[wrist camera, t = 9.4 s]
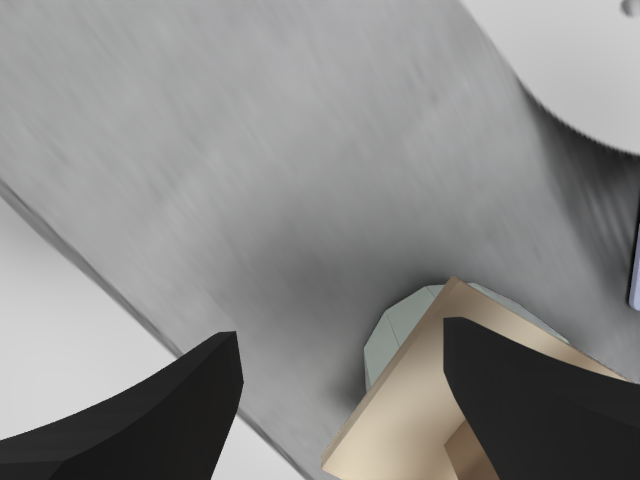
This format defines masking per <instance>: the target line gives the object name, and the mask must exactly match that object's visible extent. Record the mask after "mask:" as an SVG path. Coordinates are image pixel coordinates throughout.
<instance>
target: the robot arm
mask: <svg viewBox="0 0 640 480" xmlns="http://www.w3.org/2000/svg"><path fill="white" fill-rule="evenodd" d="M629 305H630V307H632V308H634V309H636V310H639V311H640V225H639V233H638V240H637V247H636V254H635V262H634V269H633V276H632V283H631V291H630V298H629ZM443 372H444V374H445V377H446V379H447V382H448V384H449V387H450V389H451V392H452V394H453V396H454V398H455V400H456V402H457V404H458V406H459V408H460V409H461V411H462V413H463V415H464V416H465V418H466V420H467V422H468V423H469V425H470V427H471V429H472V430H473V432H474V434H475V436H476V437H477V439H478V441H479V443H480V444H481V446H482V448H483V450H484V451H485V453H486V455H487V457H488V458H489V460H490V462H491V464H492V466H493V468H494V470H495V471H496V473H497V475H498V477H499V479H500V480H640V385H639V384H635V383H631V382H628V381H624V380H620V379H617V378H613V377H610V376H606V375H602V374H599V373H596V372H593V371H590V370H586V369H584V368H581V367H578V366H575V365H572V364H569V363H566V362H564V361H561V360H558V359H555V358H553V357H550V356H548V355H545V354H543V353H540V352H538V351H536V350H533V349H531V348H529V347H526V346H524V345H522V344H520V343H518V342H515V341H513V340H511V339H509V338H507V337H505V336H503V335H501V334H499V333H496V332H494V331H492V330H490V329H488V328H486V327H484V326H482V325H480V324H478V323H476V322H474V321H471V320H469V319H467V318H464V317H447V318H443ZM243 384H244V381H243V374H242V367H241V361H240V354H239V348H238V341H237V334H236V331H232V332H219V333H217V334H215V335H213V336H211V337H210V338H208V339H207V340H205V341H204V342H202V343H201V344H199V345H198V346H196V347H195V348H193V349H192V350H191V351H189V352H188V353H186V354H185V355H183V356H182V357H180V358H179V359H177V360H176V361H174V362H173V363H171V364H169V365H168V366H166V367H165V368H163V369H161V370H160V371H158V372H157V373H155V374H154V375H152V376H150V377H149V378H147V379H145V380H144V381H142V382H140V383H138V384H136V385H135V386H133V387H131V388H129V389H127V390H125V391H123V392H121V393H119V394H117V395H115V396H113V397H112V398H109V399H107V400H105V401H102V402H100V403H98V404H96V405H94V406H91V407H89V408H87V409H85V410H82V411H80V412H78V413H76V414H73V415H71V416H68V417H66V418H63V419H60V420H58V421H56V422H53V423H50V424H48V425H45V426H42V427H39V428H36V429H34V430H31V431H28V432H25V433H22V434H19V435H16V436H13V437H10V438H6V439H3V440H0V480H211V477H212V474H213V472H214V469H215V467H216V464H217V462H218V459H219V456H220V454H221V451H222V449H223V446H224V443H225V441H226V438H227V436H228V433H229V431H230V428H231V425H232V423H233V420H234V417H235V415H236V412H237V409H238V405H239V401H240V397H241V393H242V388H243Z"/></svg>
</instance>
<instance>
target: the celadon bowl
mask: <svg viewBox="0 0 640 480" xmlns="http://www.w3.org/2000/svg"><path fill="white" fill-rule="evenodd" d="M467 284H469V285H470V286H472V287H474V288H475V289H477V290H479V291H480V292H482V293H484V294H486V295H487V296H489V297H491V298H492V299H494V300H496V301H497V302H499V303H501V304H502V305H504V306H506V307H507V308H509V309H511V310H512V311H514V312H516V313H517V314H519V315H521V316H522V317H524V318H526V319H528V320H529V321H531V322H533V323H534V324H536V325H538V326H539V327H541V328H543V329H544V330H546V331H548V332H549V333H551V334H553V335H554V336H556V337H558V338H559V339H561V340H563V341H564V342H566V343H568V344H569V342H568V340H567V339H565V338H564V337H562V336H561V335H560V334H558V333H557V332H556V331H554V330H553V329H551V328H550V327H549V326H547V325H546V324H545V323H543V322H542V321H541V320H539V319H538V318H536V317H535V316H534V315H532V314H531V313H530V312H528V311H527V310H526V309H524V308H523V307H521V306H520V305H519V304H517V303H516V302H514V301H512V300H510V299H508V298H506V297H504V296H502V295H500V294H497V293H495V292H493V291H491V290H489V289H487V288H485V287H483V286H481V285H478V284H476V283H467ZM444 286H445V285H431V286H425V287H423V288H422V289H420V290H418V291H417V292H415V293H413V294H412V295H410V296H408V297H407V298H405V299H403V300H402V301H400V302H399V303H397V304H395V305H394V306H392V307H390V308H389V309H387V310H385V312H384V313H383V315H382V317H381V319H380V321H379V322H378V324H377V326H376V328H375V329H374V331H373V333H372V335H371V337H370V338H369V340H368V342H367V344H366V345H365V347H364V364H365V381H366V392H368V391H369V389H370V388H371V387H372V385H373V384H374V382H375V381H376V380H377V378H378V377H379V376H380V374H381V373H382V371H383V370H384V369H385V367H386V366H387V364H388V363H389V362H390V360H391V359H392V358H393V356H394V355H395V353H396V352H397V351H398V349H399V348H400V346H401V345H402V344H403V342H404V341H405V340H406V338H407V337H408V335H409V334H410V333H411V331H412V330H413V329H414V327H415V326H416V324H417V323H418V322H419V320H420V319H421V317H422V316H423V315H424V313H425V312H426V311H427V309H428V308H429V306H430V305H431V304H432V302H433V301H434V300H435V298H436V297H437V295H438V294H439V293H440V291H441V290H442V288H443V287H444Z"/></svg>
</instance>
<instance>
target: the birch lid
mask: <svg viewBox="0 0 640 480" xmlns="http://www.w3.org/2000/svg"><path fill="white" fill-rule="evenodd" d="M447 317H464V318H467V319H469V320H471V321H474V322H476V323H478V324H480V325H482V326H484V327H486V328H488V329H490V330H492V331H494V332H496V333H499V334H501V335H503V336H505V337H507V338H509V339H511V340H513V341H515V342H518V343H520V344H522V345H524V346H526V347H529V348H531V349H533V350H536V351H538V352H540V353H543V354H545V355H548V356H550V357H553V358H555V359H558V360H561V361H564V362H566V363H569V364H572V365H575V366H578V367H581V368H584V369H586V370H590V371H593V372H596V373H599V374H602V375H606V376H610V377H613V378H617V379H620V380H624V381H628V382H631V383H633V382H632V381H630V380H628V379H627V378H625V377H623V376H622V375H620V374H618V373H617V372H615V371H613V370H612V369H610V368H608V367H607V366H605V365H603V364H601V363H600V362H598V361H596V360H595V359H593V358H591V357H590V356H588V355H586V354H585V353H583V352H581V351H580V350H578V349H576V348H575V347H573V346H571V345H570V344H568V343H566V342H564V341H563V340H561V339H559V338H558V337H556V336H554V335H553V334H551V333H549V332H548V331H546V330H544V329H543V328H541V327H539V326H538V325H536V324H534V323H533V322H531V321H529V320H528V319H526V318H524V317H522V316H521V315H519V314H517V313H516V312H514V311H512V310H511V309H509V308H507V307H506V306H504V305H502V304H501V303H499V302H497V301H496V300H494V299H492V298H491V297H489V296H487V295H486V294H484V293H482V292H480V291H479V290H477V289H475V288H474V287H472V286H470V285H469V284H467V283H465V282H464V281H462V280H460V279H459V278H457V277H455V276H454V275H452V276H451V277H450V279H449V280H448V282H447V283H446V284H445V286H444V287H443V288H442V290H441V291H440V293H439V294H438V295H437V297H436V298H435V300H434V301H433V302H432V304H431V305H430V306H429V308H428V309H427V311H426V312H425V313H424V315H423V316H422V317H421V319H420V320H419V322H418V323H417V324H416V326H415V327H414V329H413V330H412V331H411V333H410V334H409V335H408V337H407V338H406V340H405V341H404V342H403V344H402V345H401V346H400V348H399V349H398V351H397V352H396V353H395V355H394V356H393V358H392V359H391V360H390V362H389V363H388V364H387V366H386V367H385V369H384V370H383V371H382V373H381V374H380V376H379V377H378V378H377V380H376V381H375V382H374V384H373V385H372V387H371V388H370V389H369V391H368V392H367V393H366V395H365V396H364V398H363V399H362V400H361V402H360V403H359V405H358V406H357V407H356V409H355V410H354V411H353V413H352V414H351V416H350V417H349V418H348V420H347V421H346V422H345V424H344V425H343V427H342V428H341V429H340V431H339V432H338V434H337V435H336V436H335V438H334V439H333V440H332V442H331V443H330V445H329V446H328V447H327V449H326V450H325V451H324V453H323V454H322V456H321V469H322V470H324V471H326V472H328V473H330V474H332V475H334V476H336V477H338V478H340V479H342V480H500V479H499V477H498V475H497V473H496V471H495V470H494V468H493V466H492V464H491V462H490V460H489V458H488V457H487V455H486V453H485V451H484V450H483V448H482V446H481V444H480V443H479V441H478V439H477V437H476V436H475V434H474V432H473V430H472V429H471V427H470V425H469V423H468V422H467V420H466V418H465V416H464V415H463V413H462V411H461V409H460V408H459V406H458V404H457V402H456V400H455V398H454V396H453V394H452V392H451V389H450V387H449V384H448V382H447V379H446V377H445V374H444V372H443V318H447Z"/></svg>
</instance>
